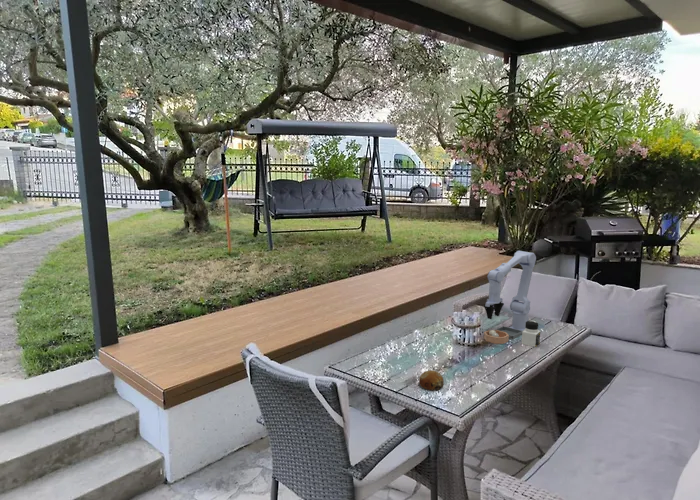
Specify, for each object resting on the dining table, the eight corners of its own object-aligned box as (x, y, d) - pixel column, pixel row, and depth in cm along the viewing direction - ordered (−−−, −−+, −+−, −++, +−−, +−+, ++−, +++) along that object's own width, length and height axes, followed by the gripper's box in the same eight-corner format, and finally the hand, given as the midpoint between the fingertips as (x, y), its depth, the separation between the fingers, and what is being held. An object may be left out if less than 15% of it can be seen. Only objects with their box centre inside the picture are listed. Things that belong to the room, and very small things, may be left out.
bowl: (491, 335, 258) (491, 328, 257) (511, 340, 249) (512, 333, 249) (480, 340, 250) (480, 333, 249) (500, 345, 241) (500, 339, 241)
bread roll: (441, 390, 200) (440, 370, 202) (447, 390, 190) (445, 369, 193) (418, 390, 200) (417, 370, 202) (422, 390, 190) (421, 370, 192)
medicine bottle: (535, 347, 239) (537, 324, 237) (521, 344, 243) (522, 322, 242) (539, 343, 245) (541, 321, 243) (525, 340, 249) (527, 318, 247)
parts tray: (503, 329, 267) (503, 325, 266) (523, 334, 258) (523, 331, 258) (491, 334, 258) (492, 330, 258) (512, 340, 250) (512, 336, 249)
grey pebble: (493, 336, 251) (490, 331, 249) (500, 335, 249) (497, 330, 247) (492, 342, 248) (489, 337, 247) (499, 341, 246) (496, 336, 244)
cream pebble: (493, 338, 254) (490, 331, 255) (499, 335, 251) (496, 328, 253) (488, 339, 251) (485, 332, 253) (494, 336, 249) (491, 329, 250)
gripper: (494, 289, 260) (493, 312, 263) (480, 293, 250) (479, 318, 253) (506, 291, 255) (505, 315, 258) (492, 296, 245) (491, 321, 248)
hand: (493, 317), depth 255 cm, fingers open, 7 cm apart
